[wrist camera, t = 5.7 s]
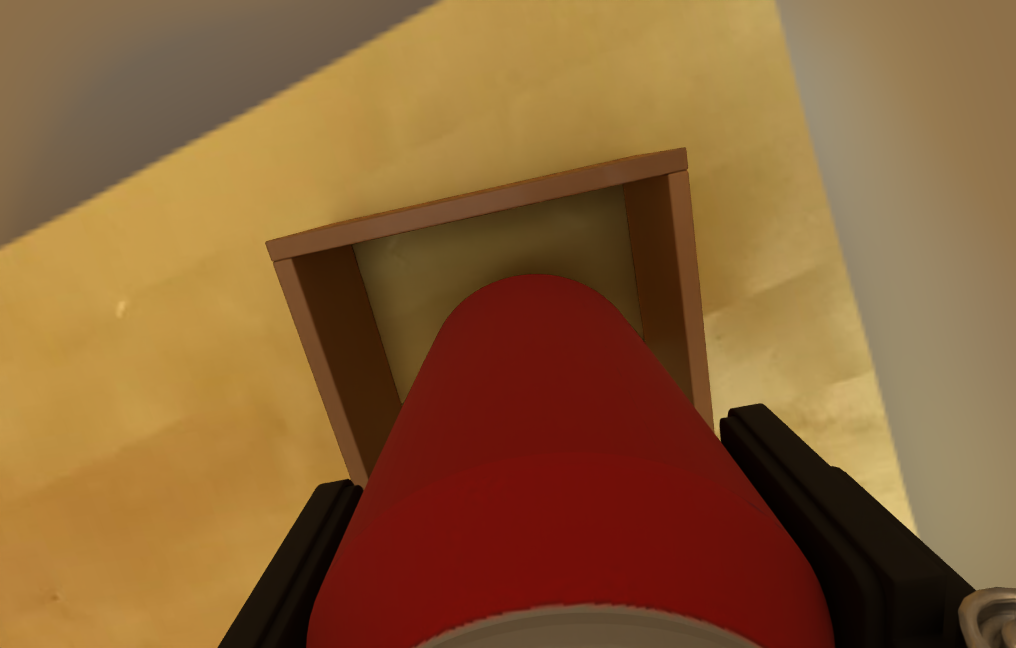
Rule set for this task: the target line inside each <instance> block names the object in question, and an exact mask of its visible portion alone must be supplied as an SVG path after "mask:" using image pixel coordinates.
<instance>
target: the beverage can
mask: <svg viewBox="0 0 1016 648" xmlns="http://www.w3.org/2000/svg"><path fill="white" fill-rule="evenodd" d="M306 648H835V640H834V630H833V626H832V621H831V617H830V613H829V609H828V605H827V602H826V599H825V596H824V593H823V590H822V588H821V585H820V582H819V580H818V578H817V576H816V575H815V573H814V571H813V569H812V567H811V565H810V563H809V562H808V560H807V559H806V557H805V556H804V554H803V553H802V551H801V550H800V548H799V547H798V546H797V544H796V543H795V542H794V540H793V539H792V538H791V536H790V535H789V534H788V532H787V531H786V530H785V528H784V527H783V525H782V524H781V523H780V521H779V520H778V519H777V517H776V516H775V515H774V513H773V512H772V511H771V509H770V508H769V507H768V505H767V504H766V502H765V501H764V500H763V498H762V497H761V496H760V494H759V493H758V492H757V490H756V489H755V488H754V486H753V485H752V484H751V482H750V481H749V479H748V478H747V477H746V475H745V474H744V473H743V471H742V470H741V469H740V467H739V466H738V465H737V463H736V462H735V461H734V459H733V458H732V456H731V455H730V454H729V452H728V451H727V450H726V448H725V447H724V446H723V444H722V443H721V442H720V440H719V439H718V438H717V436H716V435H715V434H714V432H713V431H712V430H711V428H710V427H709V426H708V424H707V423H706V422H705V420H704V419H703V418H702V416H701V415H700V414H699V412H698V411H697V410H696V409H695V407H694V406H693V405H692V403H691V402H690V401H689V399H688V398H687V397H686V395H685V394H684V393H683V392H682V390H681V389H680V388H679V386H678V385H677V384H676V382H675V381H674V380H673V378H672V377H671V376H670V374H669V373H668V372H667V371H666V369H665V368H664V367H663V366H662V364H661V363H660V362H659V360H658V359H657V358H656V357H655V355H654V354H653V353H652V351H651V350H650V349H649V348H648V346H647V345H646V344H645V343H644V341H643V340H642V339H641V338H640V336H639V335H638V334H637V333H636V331H635V330H634V329H633V328H632V327H631V325H630V324H629V323H628V322H627V320H626V319H625V318H624V317H623V315H622V314H621V313H620V312H619V311H618V309H617V308H616V307H615V306H614V305H613V304H612V303H611V302H610V301H608V300H607V299H606V298H605V297H604V296H602V295H601V294H599V293H598V292H597V291H595V290H593V289H592V288H590V287H588V286H586V285H584V284H582V283H579V282H577V281H574V280H571V279H568V278H564V277H560V276H554V275H546V274H527V275H518V276H513V277H509V278H505V279H501V280H499V281H496V282H493V283H491V284H489V285H487V286H485V287H483V288H481V289H479V290H477V291H476V292H474V293H473V294H471V295H470V296H469V297H467V298H466V299H465V300H464V301H463V302H461V303H460V304H459V305H458V306H457V307H456V308H455V309H454V310H453V312H452V313H451V314H450V315H449V317H448V318H447V319H446V321H445V322H444V324H443V325H442V327H441V329H440V331H439V333H438V335H437V337H436V339H435V341H434V343H433V345H432V347H431V349H430V351H429V353H428V355H427V357H426V359H425V360H424V362H423V364H422V367H421V369H420V371H419V373H418V375H417V377H416V379H415V381H414V383H413V385H412V387H411V390H410V392H409V394H408V396H407V398H406V400H405V402H404V404H403V406H402V408H401V411H400V413H399V415H398V417H397V419H396V421H395V424H394V426H393V428H392V430H391V432H390V434H389V437H388V439H387V441H386V443H385V445H384V447H383V450H382V452H381V454H380V456H379V458H378V460H377V463H376V465H375V467H374V469H373V471H372V473H371V476H370V478H369V480H368V482H367V485H366V487H365V489H364V491H363V493H362V496H361V498H360V500H359V502H358V505H357V507H356V509H355V511H354V514H353V516H352V518H351V520H350V523H349V525H348V527H347V529H346V532H345V534H344V536H343V538H342V540H341V543H340V545H339V547H338V549H337V552H336V554H335V556H334V558H333V561H332V563H331V565H330V567H329V570H328V572H327V574H326V576H325V579H324V581H323V583H322V585H321V588H320V590H319V592H318V595H317V597H316V600H315V602H314V606H313V609H312V613H311V616H310V620H309V626H308V632H307V643H306Z"/></svg>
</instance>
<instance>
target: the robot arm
mask: <svg viewBox="0 0 1016 648" xmlns="http://www.w3.org/2000/svg"><path fill="white" fill-rule="evenodd" d="M720 436H721V443H722V444H723V446H724V447H725V448H726V450H727V451H728V452H729V454H730V455H731V456H732V458H733V459H734V461H735V462H736V463H737V465H738V466H739V467H740V469H741V470H742V471H743V473H744V474H745V475H746V477H747V478H748V479H749V481H750V482H751V484H752V485H753V486H754V488H755V489H756V490H757V492H758V493H759V494H760V496H761V497H762V498H763V500H764V501H765V502H766V504H767V505H768V507H769V508H770V509H771V511H772V512H773V513H774V515H775V516H776V517H777V519H778V520H779V521H780V523H781V524H782V525H783V527H784V528H785V530H786V531H787V532H788V534H789V535H790V536H791V538H792V539H793V540H794V542H795V543H796V544H797V546H798V547H799V548H800V550H801V551H802V553H803V554H804V556H805V557H806V559H807V560H808V562H809V563H810V565H811V567H812V569H813V571H814V573H815V575H816V576H817V578H818V580H819V582H820V585H821V588H822V590H823V593H824V596H825V599H826V602H827V605H828V609H829V613H830V617H831V621H832V626H833V630H834V640H835V648H1016V588H1002V587H994V588H988V589H982V590H977V591H976V590H975V589H974V588H973V587H972V586H971V585H969V584H968V583H967V582H966V581H965V580H964V579H963V578H962V577H961V576H960V575H959V574H957V573H956V572H955V571H954V570H953V569H952V568H951V567H950V566H949V565H947V564H946V563H945V562H944V561H943V560H942V559H941V558H940V557H939V556H938V555H936V554H935V553H934V552H933V551H932V550H931V549H930V548H929V547H928V546H926V545H925V544H924V543H923V542H922V541H921V540H920V539H919V538H918V537H917V536H915V535H914V534H913V533H912V532H911V531H910V530H909V529H908V528H907V527H906V526H904V525H903V524H902V523H901V522H900V521H899V520H898V519H897V518H896V517H895V516H893V515H892V514H891V513H890V512H889V511H888V510H887V509H886V508H885V507H883V506H882V505H881V504H880V503H879V502H878V501H877V500H876V499H875V498H874V497H872V496H871V495H870V494H869V493H868V492H867V491H866V490H865V489H864V488H863V487H861V486H860V485H859V484H858V483H857V482H856V481H855V480H854V479H853V478H851V477H850V476H849V475H848V474H847V473H846V472H844V471H843V470H842V469H840V468H838V467H834V466H830V465H829V464H828V463H826V462H825V461H824V460H823V459H822V458H821V457H820V456H819V455H818V454H817V453H816V452H815V451H814V450H813V449H811V448H810V447H809V446H808V445H807V444H806V443H805V442H804V441H803V440H802V439H801V438H800V437H799V436H797V435H796V434H795V433H794V432H793V431H792V430H791V429H790V428H789V427H788V426H787V425H786V424H785V423H783V422H782V421H781V420H780V419H779V418H778V417H777V416H776V415H775V414H774V413H773V412H772V411H771V410H770V409H768V408H767V407H766V406H765V405H764V404H760V403H759V404H754V405H748V406H743V407H737V408H732V409H730V410H729V411H728V417H726V418H721V419H720ZM363 491H364V490H363V488H362V487H361V486H360V485H354V483H353V482H352V481H351V480H349V479H345V480H340V481H335V482H329V483H324V484H320V485H319V486H318V487H317V488H316V489H315V491H314V492H313V494H312V496H311V497H310V499H309V501H308V502H307V504H306V505H305V507H304V509H303V510H302V512H301V513H300V515H299V517H298V518H297V520H296V522H295V523H294V525H293V526H292V528H291V530H290V531H289V533H288V534H287V536H286V538H285V539H284V541H283V543H282V544H281V546H280V547H279V549H278V551H277V552H276V554H275V556H274V557H273V559H272V560H271V562H270V564H269V565H268V567H267V568H266V570H265V572H264V573H263V575H262V577H261V578H260V580H259V581H258V583H257V585H256V586H255V588H254V590H253V591H252V593H251V594H250V596H249V598H248V599H247V601H246V602H245V604H244V606H243V607H242V609H241V611H240V612H239V614H238V615H237V617H236V619H235V620H234V622H233V623H232V625H231V627H230V628H229V630H228V632H227V633H226V635H225V636H224V638H223V640H222V641H221V643H220V645H219V646H218V648H306V643H307V632H308V626H309V620H310V616H311V613H312V609H313V606H314V602H315V600H316V597H317V595H318V592H319V590H320V588H321V585H322V583H323V581H324V579H325V576H326V574H327V572H328V570H329V567H330V565H331V563H332V561H333V558H334V556H335V554H336V552H337V549H338V547H339V545H340V543H341V540H342V538H343V536H344V534H345V532H346V529H347V527H348V525H349V523H350V520H351V518H352V516H353V514H354V511H355V509H356V507H357V505H358V502H359V500H360V498H361V496H362V493H363Z"/></svg>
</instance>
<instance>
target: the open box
mask: <svg viewBox="0 0 1016 648" xmlns="http://www.w3.org/2000/svg"><path fill="white" fill-rule="evenodd" d="M687 169H688V161H687V151H686V148H678V149H672V150H666V151H660V152H654V153H648V154H642V155H635V156H630V157H626V158H622V159H617V160H613V161H608V162H604V163H599V164H595V165H590V166H586V167H582V168H577V169H573V170H568V171H564V172H559V173H555V174H550V175H546V176H542V177H537V178H533V179H528V180H524V181H519V182H515V183H510V184H506V185H502V186H497V187H493V188H488V189H484V190H479V191H475V192H470V193H466V194H462V195H457V196H453V197H448V198H444V199H439V200H435V201H430V202H426V203H422V204H417V205H413V206H408V207H404V208H399V209H395V210H390V211H386V212H382V213H377V214H373V215H368V216H364V217H359V218H355V219H350V220H346V221H342V222H337V223H333V224H329V225H325V226H321V227H318V228H314V229H310V230H306V231H303V232H299V233H295V234H292V235H288V236H284V237H281V238H277V239H273V240H270V241H266V242H265V244H266V247H267V249H268V252H269V255H270V258H271V260H272V261H274V262H273V265H274V268H275V271H276V273H277V276H278V279H279V282H280V285H281V287H282V290H283V293H284V296H285V298H286V301H287V304H288V307H289V309H290V312H291V315H292V318H293V320H294V323H295V326H296V329H297V331H298V334H299V337H300V340H301V342H302V345H303V348H304V351H305V354H306V356H307V359H308V362H309V365H310V367H311V370H312V373H313V376H314V378H315V381H316V384H317V387H318V389H319V392H320V395H321V398H322V400H323V403H324V406H325V409H326V411H327V414H328V417H329V420H330V423H331V425H332V428H333V431H334V434H335V436H336V439H337V442H338V445H339V447H340V450H341V453H342V456H343V458H344V461H345V464H346V467H347V469H348V472H349V475H350V478H351V480H352V482H353V483H354V485H360V486H361V487H362V488H363V490H364V489H365V487H366V485H367V482H368V480H369V478H370V476H371V473H372V471H373V469H374V467H375V465H376V463H377V460H378V458H379V456H380V454H381V452H382V450H383V447H384V445H385V443H386V441H387V439H388V437H389V434H390V432H391V430H392V428H393V426H394V424H395V421H396V419H397V417H398V415H399V413H400V411H401V408H402V407H401V404H400V401H399V397H398V394H397V391H396V388H395V384H394V381H393V378H392V375H391V372H390V368H389V365H388V362H387V359H386V355H385V352H384V349H383V346H382V343H381V339H380V336H379V333H378V330H377V326H376V323H375V320H374V317H373V314H372V310H371V307H370V304H369V301H368V297H367V294H366V291H365V288H364V285H363V281H362V278H361V275H360V272H359V268H358V265H357V262H356V259H355V256H354V252H353V249H352V246H351V244H355V243H359V242H364V241H368V240H373V239H377V238H382V237H386V236H391V235H395V234H400V233H404V232H409V231H413V230H418V229H422V228H427V227H431V226H436V225H440V224H445V223H449V222H454V221H458V220H463V219H467V218H472V217H476V216H481V215H485V214H490V213H494V212H499V211H503V210H508V209H512V208H517V207H521V206H526V205H530V204H535V203H539V202H544V201H548V200H553V199H557V198H562V197H566V196H571V195H575V194H580V193H584V192H589V191H593V190H598V189H602V188H607V187H611V186H616V185H620V184H623V189H624V196H625V203H626V211H627V218H628V225H629V232H630V239H631V246H632V254H633V261H634V268H635V275H636V282H637V289H638V296H639V304H640V311H641V318H642V325H643V332H644V339H645V344H646V345H647V346H648V348H649V349H650V350H651V351H652V353H653V354H654V355H655V357H656V358H657V359H658V360H659V362H660V363H661V364H662V366H663V367H664V368H665V369H666V371H667V372H668V373H669V374H670V376H671V377H672V378H673V380H674V381H675V382H676V384H677V385H678V386H679V388H680V389H681V390H682V392H683V393H684V394H685V395H686V397H687V398H688V399H689V401H690V402H691V403H692V405H693V406H694V407H695V409H696V410H697V411H698V412H699V414H700V415H701V416H702V418H703V419H704V420H705V422H706V423H707V424H708V426H709V427H710V428H711V430H712V431H713V432H714V422H713V412H712V403H711V393H710V383H709V373H708V363H707V353H706V343H705V333H704V323H703V313H702V303H701V293H700V283H699V274H698V264H697V254H696V244H695V234H694V224H693V214H692V204H691V194H690V184H689V174H688V171H687ZM714 434H715V432H714Z"/></svg>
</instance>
